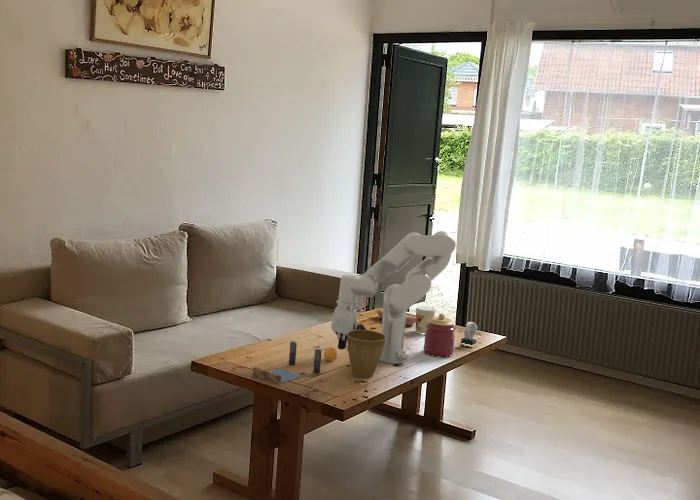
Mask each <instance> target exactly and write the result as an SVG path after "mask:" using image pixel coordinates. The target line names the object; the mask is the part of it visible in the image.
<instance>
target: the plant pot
mask: <svg viewBox="0 0 700 500" xmlns="http://www.w3.org/2000/svg"><path fill="white" fill-rule="evenodd" d="M385 340H386V336H385V335H383V334H381V332H378V331H373V330H368V329H366V330H353V331H349V332H348V333H347V343H346V344H347V351H348V358H349V362H350V367H351V370H352V374H353V376H355V377H356V378H361V379H369V378H373V375H374V373H375V372H376V369H377V368H378V365H379V363H380V361H379V360H380V357H381V354H382V351H383V348H384V344H385Z"/></svg>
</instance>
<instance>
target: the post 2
mask: <svg viewBox="0 0 700 500" xmlns="http://www.w3.org/2000/svg"><path fill="white" fill-rule="evenodd" d="M322 352H323V351H322V349H321V348H314V354H313V356H314V357H313V358H314V359H313V371H312V373H314V374H320V373H321V365H322V364H321V363H322Z"/></svg>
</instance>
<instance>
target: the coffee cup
mask: <svg viewBox="0 0 700 500" xmlns="http://www.w3.org/2000/svg"><path fill="white" fill-rule="evenodd" d="M435 314H436V309H435V308H434V307H432V306H426V305H425V306H424V305H419V306H417V307H415V315H416V322H415V333H416V332H419V333H425V332H426V329H427V328H426V324H428V323H429V322H428V320H429V319H431V318H432V317H436V316H435Z"/></svg>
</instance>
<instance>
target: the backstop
mask: <svg viewBox="0 0 700 500" xmlns="http://www.w3.org/2000/svg"><path fill="white" fill-rule="evenodd" d="M268 371H269V370H264V369H263V368H262V369H261V368H259V367H257V366H254V367H253V369H252V376H253V375H255V376H254V377H256V376H258V377H257V378H259V377H261V378H260V379H262V378H263V379H262V380H265V379H266V380H265V381H267V380H269V381H268V382H270V381H271V383H273V382H274V384H276V385H281V384H282V383H281V376H280V375H277V374H274V373H271V372H268Z"/></svg>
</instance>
